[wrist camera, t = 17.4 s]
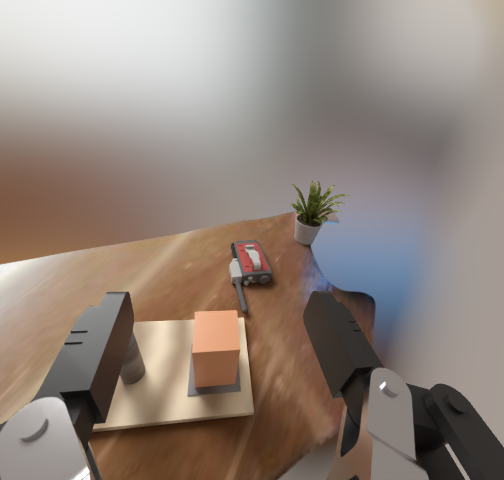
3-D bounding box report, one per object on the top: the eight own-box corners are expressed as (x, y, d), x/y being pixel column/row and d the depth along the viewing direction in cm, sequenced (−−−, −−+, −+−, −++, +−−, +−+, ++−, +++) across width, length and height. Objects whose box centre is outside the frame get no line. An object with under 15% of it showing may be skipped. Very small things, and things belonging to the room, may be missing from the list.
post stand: (65, 435, 27) (19, 395, 21) (109, 326, 38) (88, 279, 32) (253, 414, 31) (265, 376, 24) (243, 321, 42) (249, 277, 35)
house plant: (345, 252, 62) (370, 196, 52) (301, 263, 56) (321, 202, 47) (312, 224, 72) (328, 172, 62) (273, 230, 66) (284, 175, 57)
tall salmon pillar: (194, 387, 31) (192, 352, 26) (197, 348, 36) (195, 311, 30) (235, 384, 32) (240, 349, 27) (232, 346, 36) (236, 310, 31)
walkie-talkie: (222, 249, 58) (238, 317, 43) (223, 234, 55) (240, 302, 40) (256, 246, 60) (283, 311, 45) (259, 232, 58) (288, 295, 42)
